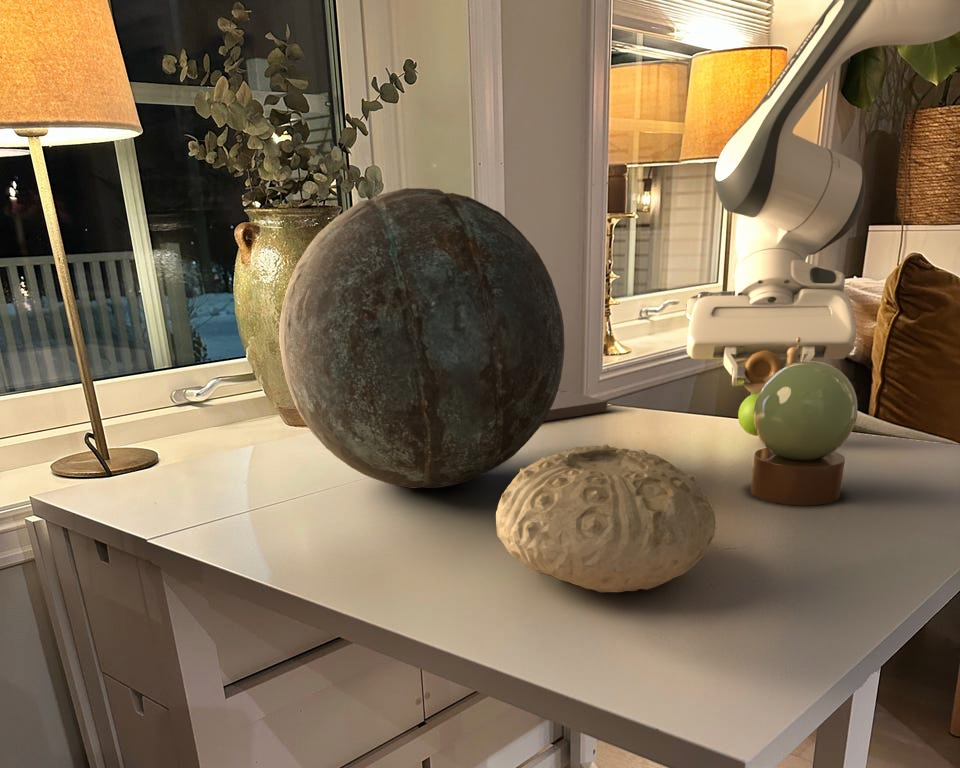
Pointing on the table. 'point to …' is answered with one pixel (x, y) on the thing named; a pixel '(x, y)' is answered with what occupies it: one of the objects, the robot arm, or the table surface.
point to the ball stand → (802, 434)
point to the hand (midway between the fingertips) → (768, 383)
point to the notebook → (574, 405)
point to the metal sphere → (422, 338)
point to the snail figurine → (760, 381)
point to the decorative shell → (606, 519)
